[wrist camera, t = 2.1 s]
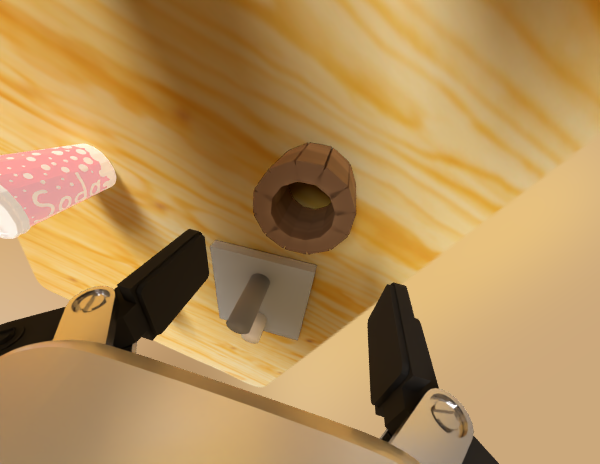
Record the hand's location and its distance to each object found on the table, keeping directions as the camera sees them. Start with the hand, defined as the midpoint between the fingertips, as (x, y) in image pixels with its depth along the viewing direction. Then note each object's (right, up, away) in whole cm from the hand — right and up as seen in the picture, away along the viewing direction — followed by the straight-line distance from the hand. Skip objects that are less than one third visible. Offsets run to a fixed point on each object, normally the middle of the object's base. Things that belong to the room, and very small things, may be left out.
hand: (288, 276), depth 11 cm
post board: (-4, -6, +17) cm, 19 cm away
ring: (+2, +6, +8) cm, 10 cm away
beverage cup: (-21, +9, +12) cm, 26 cm away
